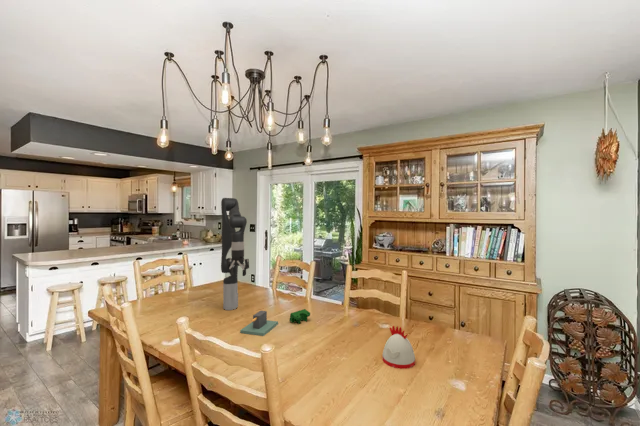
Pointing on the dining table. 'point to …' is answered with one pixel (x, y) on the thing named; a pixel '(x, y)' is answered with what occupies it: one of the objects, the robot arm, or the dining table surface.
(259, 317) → the block
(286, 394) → the dining table surface
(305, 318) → the green toy animal
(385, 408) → the dining table surface
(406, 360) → the kitchen timer
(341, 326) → the dining table surface
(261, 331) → the header board
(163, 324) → the dining table surface
